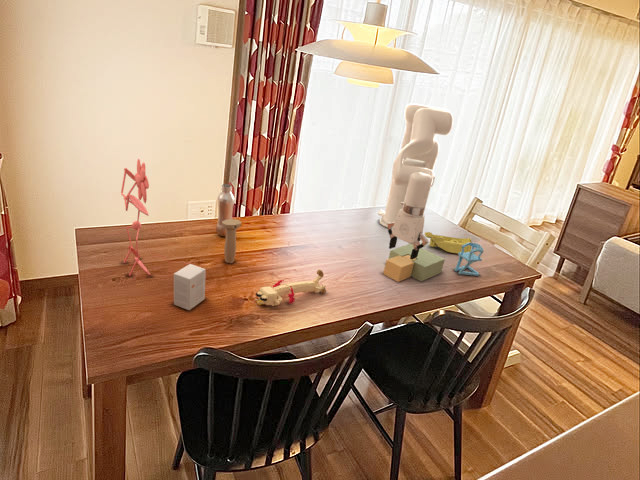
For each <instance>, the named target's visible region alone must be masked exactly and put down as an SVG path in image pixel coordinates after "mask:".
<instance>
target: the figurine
mask: <svg viewBox="0 0 640 480" xmlns="http://www.w3.org/2000/svg"><path fill="white" fill-rule="evenodd" d="M123 172H124V173H123V177H122V184H121V190H120V193H121V196H122V197H123V200H124V206H125V208H124V209H125V211H126V212H128V210H129V203H130V204H131V205H133V206H134V207H135V208H136V209H137V220H134V221H133V222H132V224H131V225H130V226H126V232H127V235H128V239H129V243H130V245H128V246H127V247H128V252H127V254H126V256H125V258H124V260H123V262H122V263H123V264H126V262H127V260H128V258H129V256H130V254H131V253H132V254H133V255H134V260H135V262H134V264H133V265H132V268H131V269H130V272H129V273H128V276H129V277H131V276H132V274H133V272H134V270H135V269H136V266H137V264H138V266H139V267H140V269H142V270H143V271H144V272H145V274H147V275H148V276H151V273H150V271H149V270H148V269H147V267H146V266H145V264H144V263H143V262H142V261H141V260H140V257H141V255H140V253H139V246H138V244H139V243H138V239H139V233H140V230H141V228H142V223H141V222H140V213H141V214H144V215H145V216H147V217H148V216H150V214H149V212H148V210H147V208H146V206H145V205H144V204H146V203H147V200H148V191H147V190H148V189H149V188H150V183H149V179H148V177H147V175H146V173H147V172H146V163H145V162H144V161H143V162H142V163H141V160H140V158H137V161H136V173H135V174H133V173H132V172H131V171H130V170H129V169H128V168H127V167H125V168H123ZM127 176H128V177H129V178H131V179H132V181H134V183H133V185H132V187H131V188H130V190H129V191H128V192H127V195H125V194H124V189H125V183H126V177H127ZM135 187H137V196H138V197H136V195H133V194H131V193H132V192H133V190H134V189H135ZM141 200H143V202H142V201H141ZM130 228H132V229H133V230H136V231H137V232H136V237H135V238H136V239H135V245H136V247H134V246H133V244H132V239H131V235H130V231H129V229H130ZM135 248H136V249H135ZM151 254H153V255H156V256H159V257H161V258H164V259H165V260H167V258H166V257H165V256H163V255H160V254H157V253H153V252H151ZM170 264H172V261H170ZM171 270H172V269H170V271H171Z"/></svg>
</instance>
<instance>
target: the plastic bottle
mask: <svg viewBox="0 0 640 480" xmlns="http://www.w3.org/2000/svg"><path fill="white" fill-rule="evenodd" d="M220 190H221V192H220V193H219V194H218V196H217V199H216V200H217V212H218V213H217V222H216V227H215V230H216V233H217V235H218V236H220V237H226V228H224V227H223V226H222V221H224V220H228V219H233V212H234V207H235V196H234V193H232V192H233V186H232V185H231V184H228V183H223V184H221V189H220Z"/></svg>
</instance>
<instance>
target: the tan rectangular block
mask: <svg viewBox="0 0 640 480" xmlns="http://www.w3.org/2000/svg"><path fill="white" fill-rule="evenodd" d="M410 257H411V256H409V255H406V256H403V257H402V256H400V255H398V256H396V257H393V258H390V259H389V258H387V259H386V260H385V265H384V268H383V273H382V274H383V275H384V276H386V277H388V278H390V279H392V280H393V281H395V282H397V283H398V282H399V283H400V282H401V281H404V280H406V279H409V278H412V277H411V273H412V269H413V266H414V262H413V261H415V260H416V258H415V259H412V260H411V259H410Z"/></svg>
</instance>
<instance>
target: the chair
mask: <svg viewBox="0 0 640 480" xmlns="http://www.w3.org/2000/svg"><path fill="white" fill-rule="evenodd" d="M468 245H470V246H471V251H470V252H465V253H463V252H464V247H466V246H468ZM475 253H478V255H476V254H475ZM483 253H484V248H483V246H482V245H481V244H479V243H475V242H471V243H466V244H464V245H462V251H461V252H460V253H457V254H458V260H457V263H456V266H455V268H454V272H458V273H457V274H458V275H464V276H465V275H466V276H474V277H479V276H480V272H478V271H477V270H475V269H474V268H472V267H471V266H470V265H472V264H475V263H476V262H482V261H483V259H482V258H481V256H482V254H483ZM463 259H464V260H465V261H466V262H467V263H466V264H465V265H462V266H461V263H462V260H463ZM467 269H468V270H469V271H465V270H467Z"/></svg>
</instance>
